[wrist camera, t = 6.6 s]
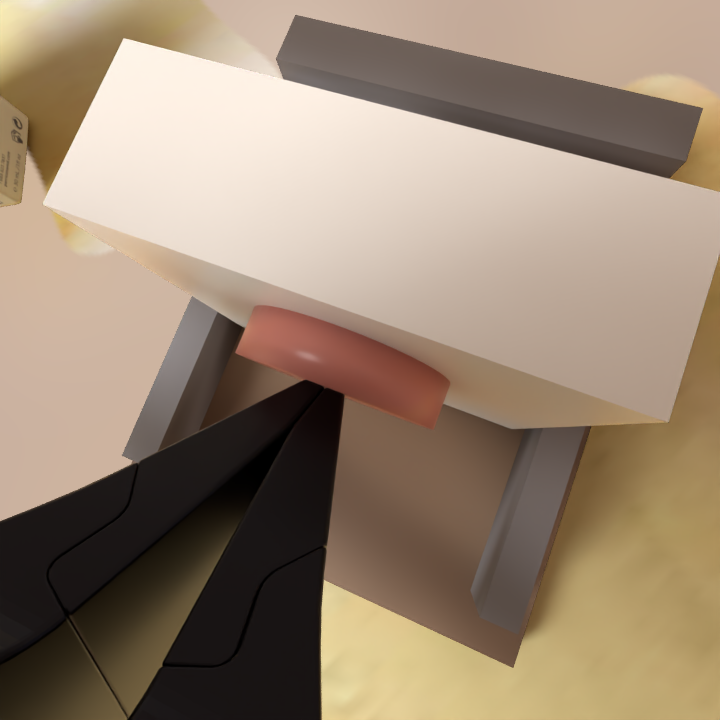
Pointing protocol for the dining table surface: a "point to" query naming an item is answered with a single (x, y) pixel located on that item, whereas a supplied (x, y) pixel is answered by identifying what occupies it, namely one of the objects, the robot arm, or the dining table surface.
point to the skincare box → (12, 153)
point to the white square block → (397, 245)
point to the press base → (453, 427)
